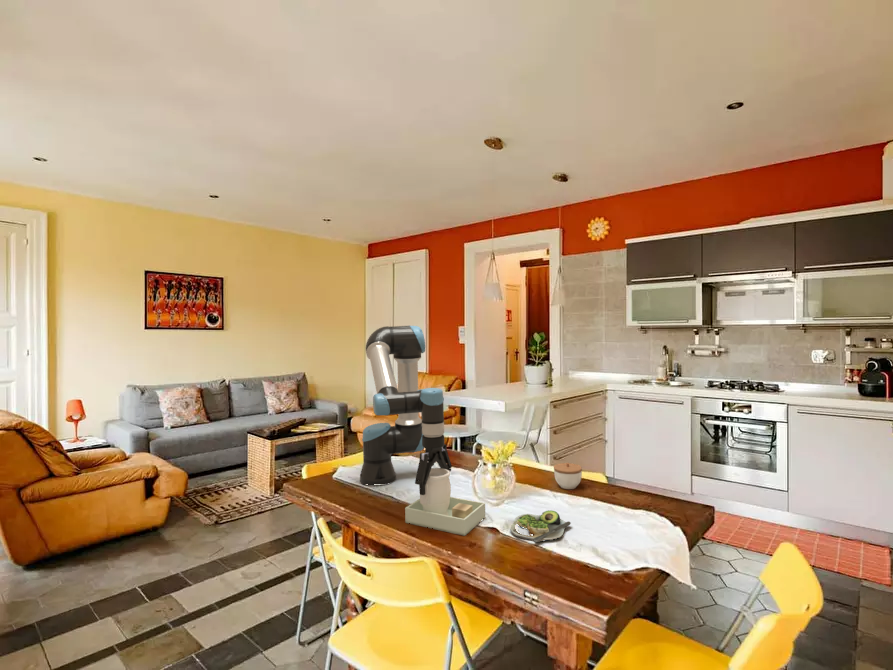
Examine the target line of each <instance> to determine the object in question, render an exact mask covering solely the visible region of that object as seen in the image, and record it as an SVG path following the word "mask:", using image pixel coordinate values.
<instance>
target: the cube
mask: <svg viewBox="0 0 893 670" xmlns="http://www.w3.org/2000/svg"><path fill="white" fill-rule="evenodd" d="M472 512H473V506H472V505H467V504H462V503H459V504H457V505H456V506H454V507H453V508H452V517H457V518H462V519H464V518H465V517H467V516H468V515H469V514H470V513H472Z"/></svg>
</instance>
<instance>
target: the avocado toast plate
mask: <svg viewBox="0 0 893 670" xmlns="http://www.w3.org/2000/svg"><path fill="white" fill-rule="evenodd" d="M516 524H518V525H519V526H522V527H524V528H527V529H528V530H527V529H526V530H527V531H528V532H529V533H531V534H533V536H528V535H529V534H522V533H521V532H520V533H521V534H520V533H518V532H517V531H516V529H515V525H516ZM571 524H572V522H570V521H564V519H562V518H561V517H560V514H559V513H558V512H557V511H555V510H552V509H551V510H545V511H543V512H542V514H539V515H537V514H531V513H525V514H521V515H517V516H516V517H515V518H514V520H513V522H512V524H511V526H510V528H509V529H510V532H511V534H513V535H514V536H516V537H518V538H520V539H522V540H525V539H529V540H528V541H532V540H533V542H534V543H541V542H540V541H543V540H550V541H554V540H553V539H555V540H558V539H557V538H559V539H560V538H561V537H563V534H564V533H565V532H564V531H565V529H566V528H567V527H569V526H570V525H571ZM524 528H523V529H524ZM543 542H544V541H543Z"/></svg>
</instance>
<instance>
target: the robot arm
mask: <svg viewBox="0 0 893 670" xmlns="http://www.w3.org/2000/svg"><path fill="white" fill-rule="evenodd" d="M425 339H426V338H425V335H424V333H423V329H422V328H421V327H420V326H418V325H397V326H396V325H395V326H393V325H392V326H381V327H380V328H377V329H376V330H375V331H373V332H372V333H371V334H370V335H369V337H368V338H367V341H366V343H365V355H366V357H367V358H368V359H369V361H370V365H371V370H372V375H373V381H374V384H375V390H376V391H375V392H376V393H375V394H373V397H372V407H373V409H372V410H373V413H374V414H375V415H376V416H393V415H398V417H397V418H396V420H395V421H394V425H392V426H391V424H390V423H389V422H378V423H377V422H376V423H373V424H371V425H368V426H366V427H364V429H363V430H362V438H361V439H362V440H361V441H362V456H363V460H362V461H363V463H362V466H361V470H360V475H359V483H360V482H361V483H360V484H362V483H363V484H362V485H364V484H368V485H374V484H386V485H389V484H388V483H390V484H392V483H394V482H395V481H396V480H397V473H396V471H395V467H394V465H393V461H392V455H397V454H408V453H415V452H420V453H419V462H418V466H417V470H416V475H415V480H414V484H415V485H418V487H419V488H418V489H419V490H420V491H419V490H418V491H419V499H420V504H426V505H428V484H426V483H427V480H428V477H429V474H430V471H431V468H432V467H434V465H435V464H436V463H437V464H438V466H439V468H443V469H447V470H449V471H450V473H451V472H452V467H453V466H452V463H451V460H450V456H449V453H448V448H447V444H446V443H445V435H444V434H445V422H444V421H445V419H444V418H445V417H444V415H445V414H444V412H445V411H444V392H443V391H444V390H442V389H441V388H437V387H427V388H422V389H419V372H418V371H419V365H418V364H419V363H418V362H419V361H420V360H421V359H422V354H424V353H425V352H426V340H425ZM390 355H393V359H394V361H395V362H397V363H396V364H397V382H396V378H395V373H394V370H393V367H392V362H391V359H390ZM419 413H421V416H420V417H421V418H420V417H419V415H420V414H419ZM424 449H425V451H424V453H423V452H422V451H423V450H424ZM368 485H367V486H368Z"/></svg>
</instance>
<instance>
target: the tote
mask: <svg viewBox="0 0 893 670" xmlns="http://www.w3.org/2000/svg"><path fill="white" fill-rule="evenodd" d="M459 503H462V504H467V505H472V506H473V512H472V513H470V514H469V515H468V516H467V517H465V518H464V519H462V518H457V517H452V508H453V507H454V506H456V505H457V504H459ZM404 512H405V513H404V514H405V515H404V516H405V518H404V519H405V520H404V522H405V523H406V524H409V523H410V524H409V525H414V526H419V527H422V528H427V527H428V529H432V528H433V529H432V530H438V531H441V532H447V533H451V534H454V535H460V536H462V537H463V536H467V534H469V533H470V532H471V531H472V530H474V528H476V526H477V525H479V524H480V523H481V522H482V521H483V520H484V519H483V518H484V517H485V518H486V502H481V501H475V500H469V499H465V498H458V497H453V496H450V503H449V507H448V509H447V512H448V516H447V515H442V514H437V513H432V512H427V511H424V509H423V507H422V504H420V498H419V499H417V500H415V501H414V502H412V503H411V504H409V505H407V506H405V508H404ZM482 519H483V520H482ZM481 520H482V521H481ZM480 521H481V522H480ZM479 522H480V523H479Z"/></svg>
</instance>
